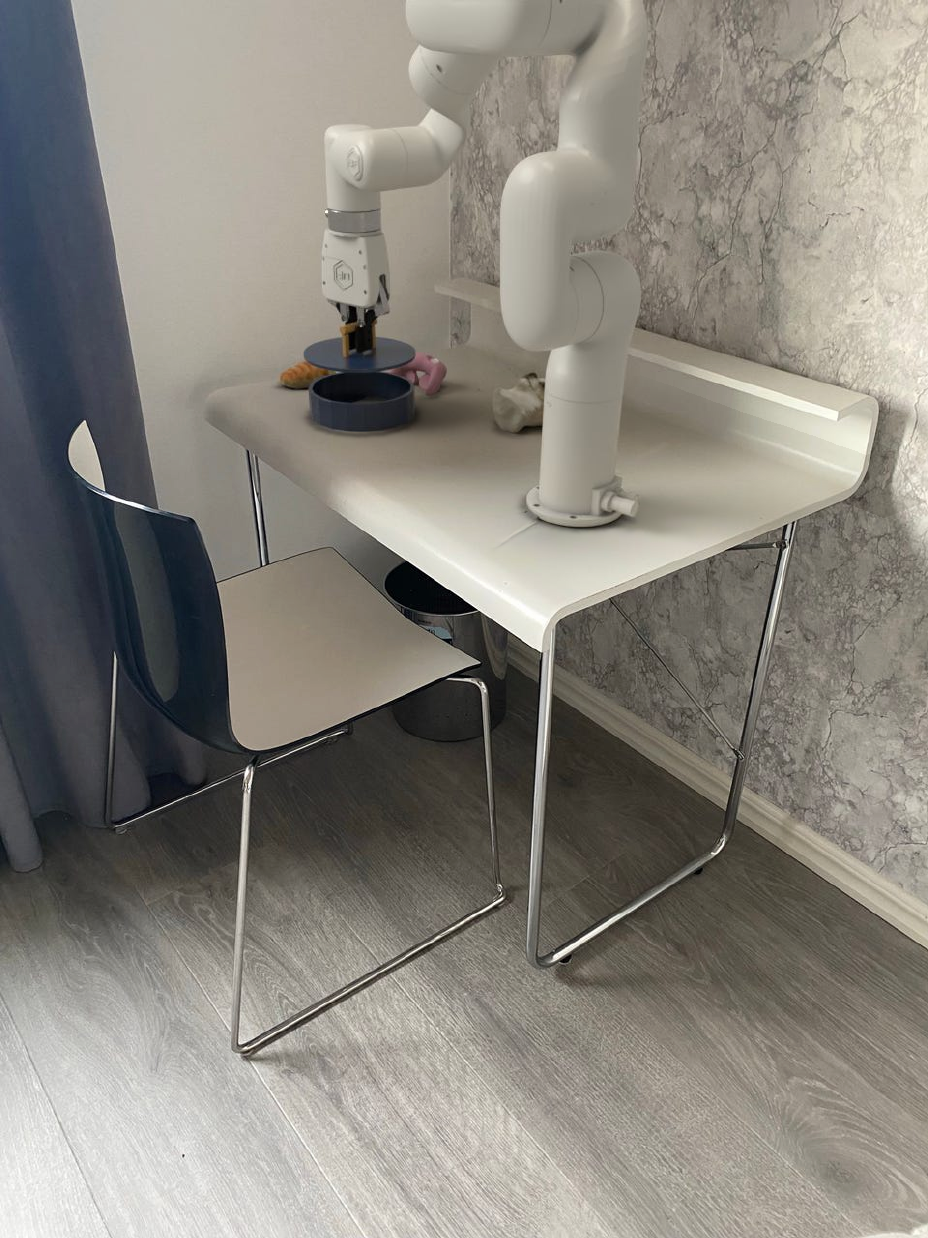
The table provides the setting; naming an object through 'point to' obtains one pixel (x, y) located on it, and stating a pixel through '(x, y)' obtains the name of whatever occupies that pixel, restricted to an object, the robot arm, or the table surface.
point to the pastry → (303, 375)
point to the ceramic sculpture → (520, 404)
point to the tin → (340, 413)
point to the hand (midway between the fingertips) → (359, 348)
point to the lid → (359, 354)
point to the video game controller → (427, 364)
